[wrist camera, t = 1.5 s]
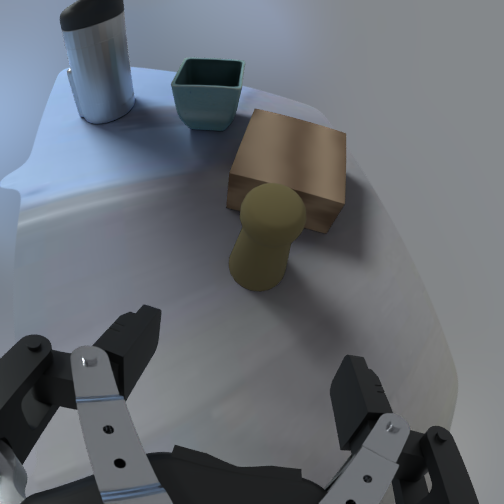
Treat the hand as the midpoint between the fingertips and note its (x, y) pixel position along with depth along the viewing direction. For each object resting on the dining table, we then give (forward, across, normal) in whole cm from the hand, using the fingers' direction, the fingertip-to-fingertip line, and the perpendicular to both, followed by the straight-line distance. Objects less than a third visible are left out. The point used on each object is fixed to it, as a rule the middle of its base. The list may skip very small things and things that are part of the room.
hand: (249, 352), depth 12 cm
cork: (+20, 0, +3) cm, 20 cm away
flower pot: (+34, +12, -12) cm, 38 cm away
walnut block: (+28, -1, -6) cm, 29 cm away
